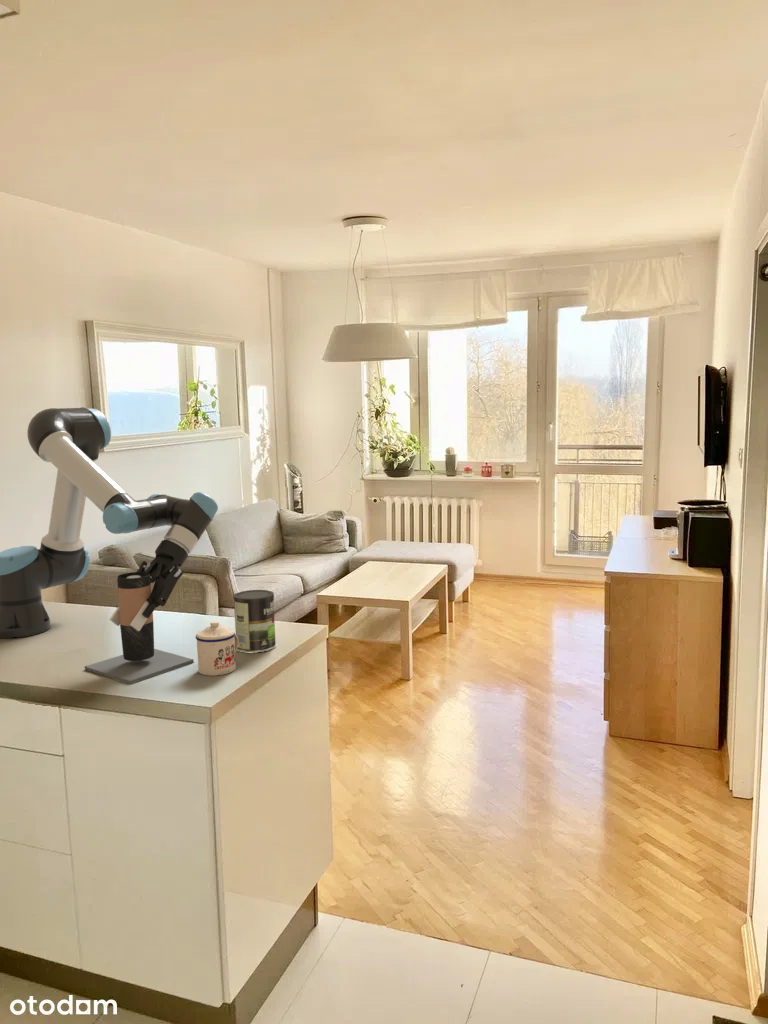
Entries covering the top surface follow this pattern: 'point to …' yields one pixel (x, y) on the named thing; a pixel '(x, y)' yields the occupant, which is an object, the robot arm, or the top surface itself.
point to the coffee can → (255, 620)
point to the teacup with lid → (216, 650)
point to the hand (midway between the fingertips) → (124, 625)
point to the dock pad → (139, 666)
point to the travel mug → (131, 599)
